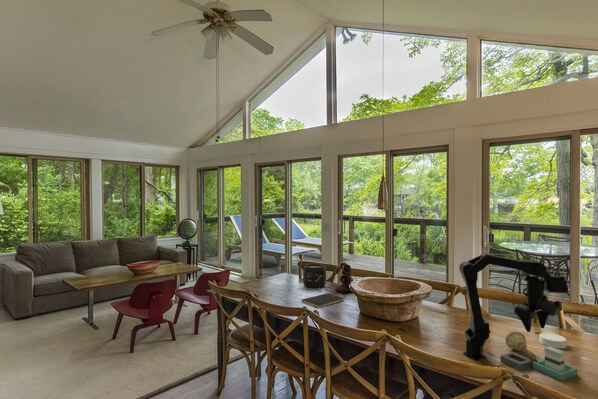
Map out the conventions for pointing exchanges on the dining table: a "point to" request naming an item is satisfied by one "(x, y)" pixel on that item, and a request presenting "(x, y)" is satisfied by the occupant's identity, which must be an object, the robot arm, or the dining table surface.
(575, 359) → the dining table surface
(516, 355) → the socket block
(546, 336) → the coaster
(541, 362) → the parts tray
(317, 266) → the lettered dark canister
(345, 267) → the brown carved figurine
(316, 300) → the hardcover book
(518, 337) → the hand bell
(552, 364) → the block
